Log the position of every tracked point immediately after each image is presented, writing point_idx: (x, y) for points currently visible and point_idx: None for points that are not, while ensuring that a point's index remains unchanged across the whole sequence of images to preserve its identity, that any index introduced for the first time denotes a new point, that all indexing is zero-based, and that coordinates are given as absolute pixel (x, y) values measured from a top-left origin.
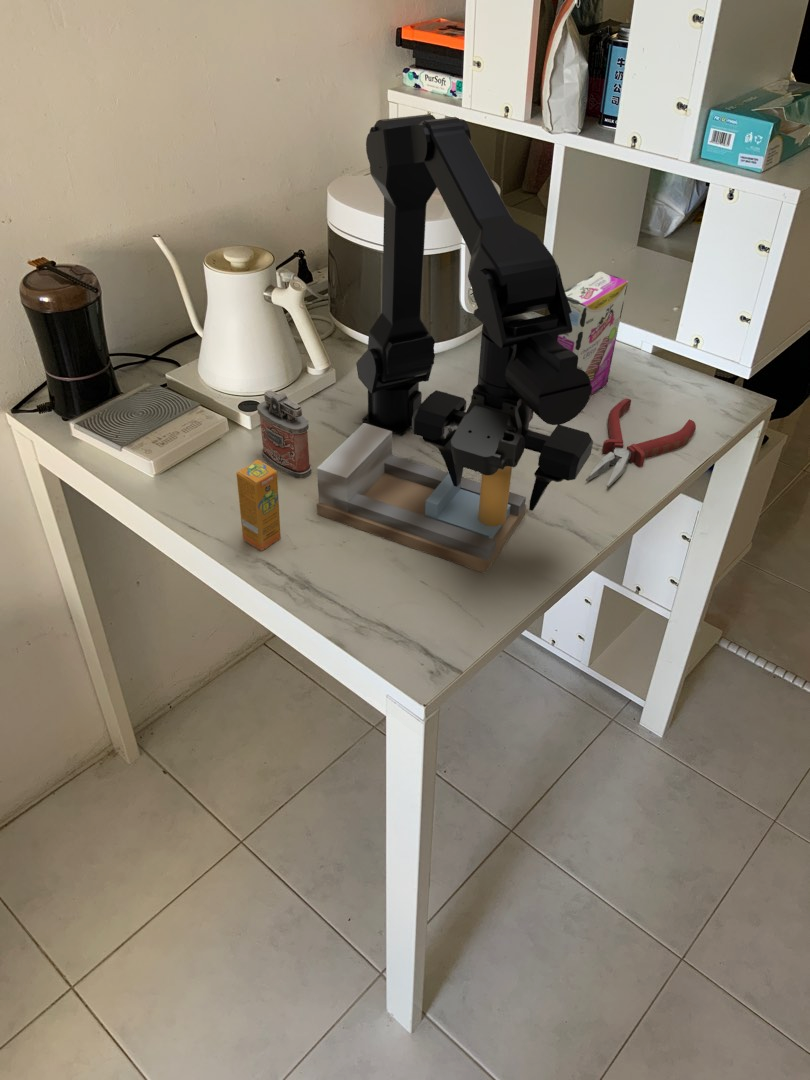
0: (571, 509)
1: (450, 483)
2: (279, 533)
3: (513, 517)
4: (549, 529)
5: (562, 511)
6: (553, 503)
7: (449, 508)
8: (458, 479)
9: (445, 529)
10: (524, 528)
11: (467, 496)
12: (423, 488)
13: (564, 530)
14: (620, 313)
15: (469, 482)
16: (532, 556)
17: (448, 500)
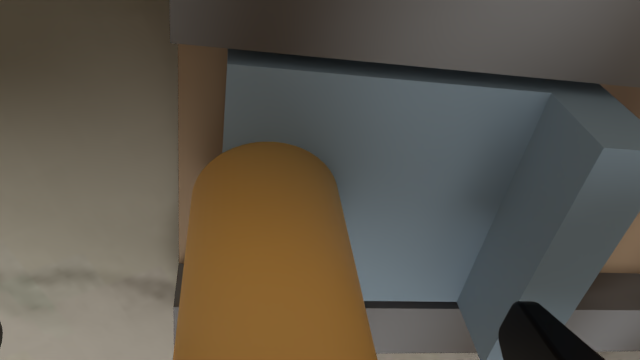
0: (45, 353)
1: None
2: None
3: None
4: (58, 253)
5: (68, 337)
6: (117, 354)
7: (490, 183)
8: (529, 350)
9: (495, 21)
10: (151, 225)
11: (418, 276)
12: None
13: (3, 268)
14: None
15: (425, 340)
16: (28, 87)
17: (508, 222)
